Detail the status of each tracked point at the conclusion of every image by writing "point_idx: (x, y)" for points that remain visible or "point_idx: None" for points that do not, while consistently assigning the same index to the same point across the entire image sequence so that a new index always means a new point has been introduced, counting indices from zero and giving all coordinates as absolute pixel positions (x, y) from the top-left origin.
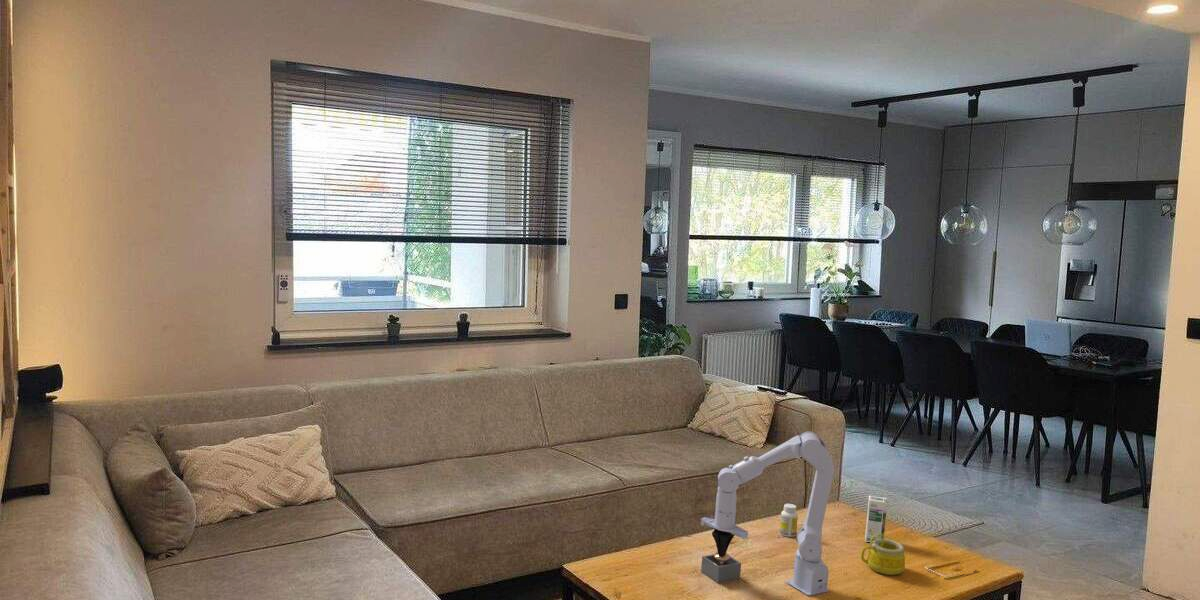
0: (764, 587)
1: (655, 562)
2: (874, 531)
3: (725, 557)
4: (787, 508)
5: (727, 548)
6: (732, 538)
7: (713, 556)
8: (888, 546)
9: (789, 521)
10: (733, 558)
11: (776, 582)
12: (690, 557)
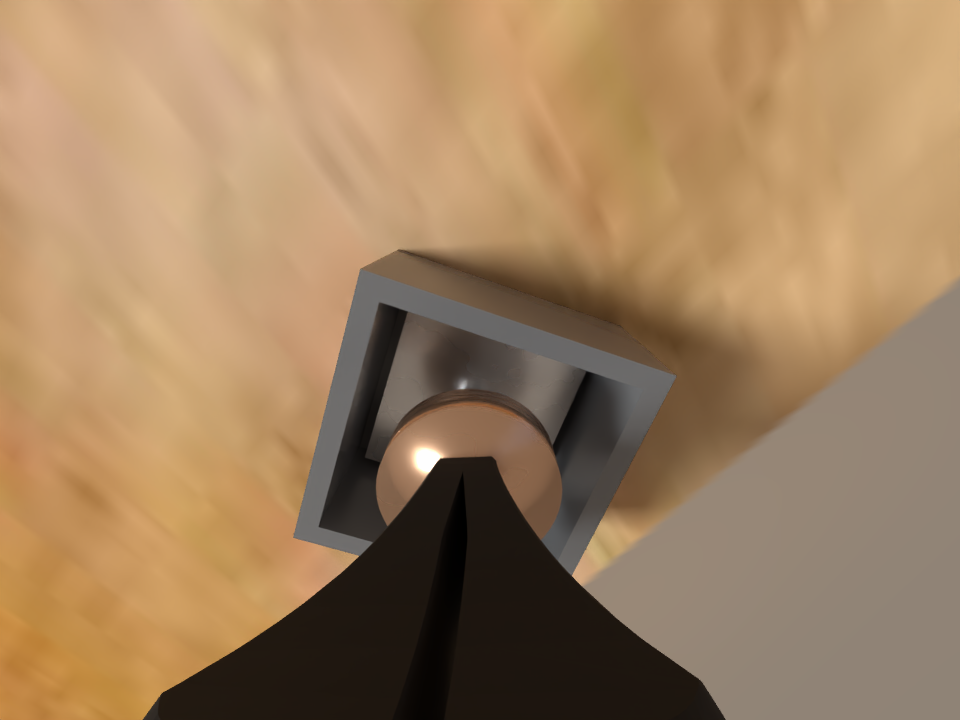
0: (850, 308)
1: (54, 551)
2: None
3: (534, 513)
4: None
5: (512, 501)
6: (617, 628)
7: (347, 429)
8: None
9: None
10: (546, 336)
11: (922, 126)
12: (90, 292)
